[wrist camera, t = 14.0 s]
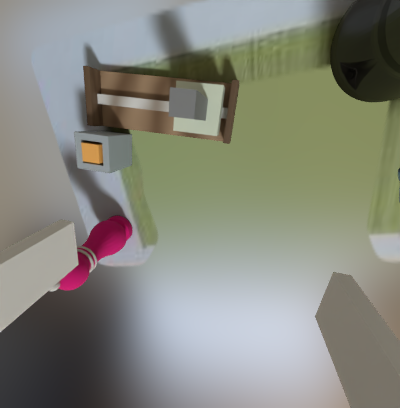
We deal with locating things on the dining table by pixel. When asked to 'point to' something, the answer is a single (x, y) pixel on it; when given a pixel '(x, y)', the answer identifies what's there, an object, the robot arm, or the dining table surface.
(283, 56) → the dining table surface
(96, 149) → the button
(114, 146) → the orange button box
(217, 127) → the carriage
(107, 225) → the pepper mill
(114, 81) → the rail board
